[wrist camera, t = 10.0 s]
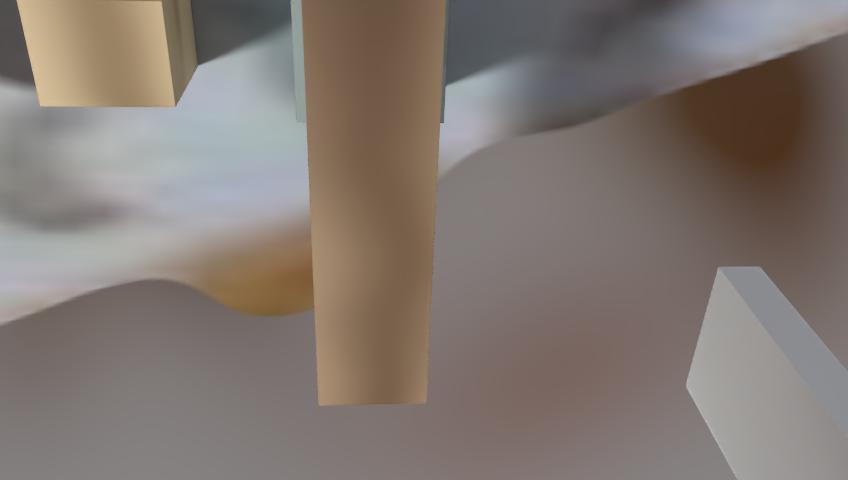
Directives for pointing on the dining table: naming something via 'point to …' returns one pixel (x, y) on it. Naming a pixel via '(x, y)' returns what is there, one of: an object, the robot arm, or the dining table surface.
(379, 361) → the rod
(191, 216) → the dining table surface
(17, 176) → the dining table surface
